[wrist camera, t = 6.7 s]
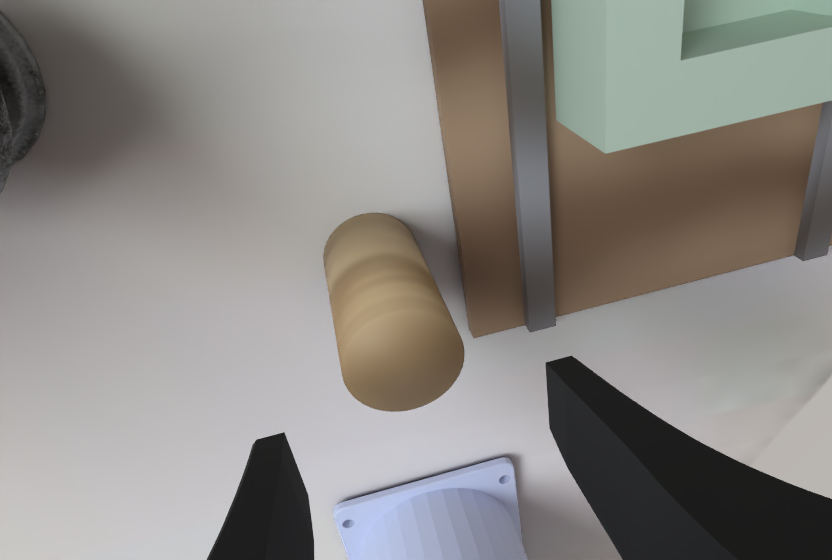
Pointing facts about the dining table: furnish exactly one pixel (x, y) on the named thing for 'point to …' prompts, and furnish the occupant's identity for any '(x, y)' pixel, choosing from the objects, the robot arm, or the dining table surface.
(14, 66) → the salt shaker
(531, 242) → the walnut board
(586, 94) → the sage socket block
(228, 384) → the dining table surface
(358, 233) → the oak dowel
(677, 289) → the dining table surface
